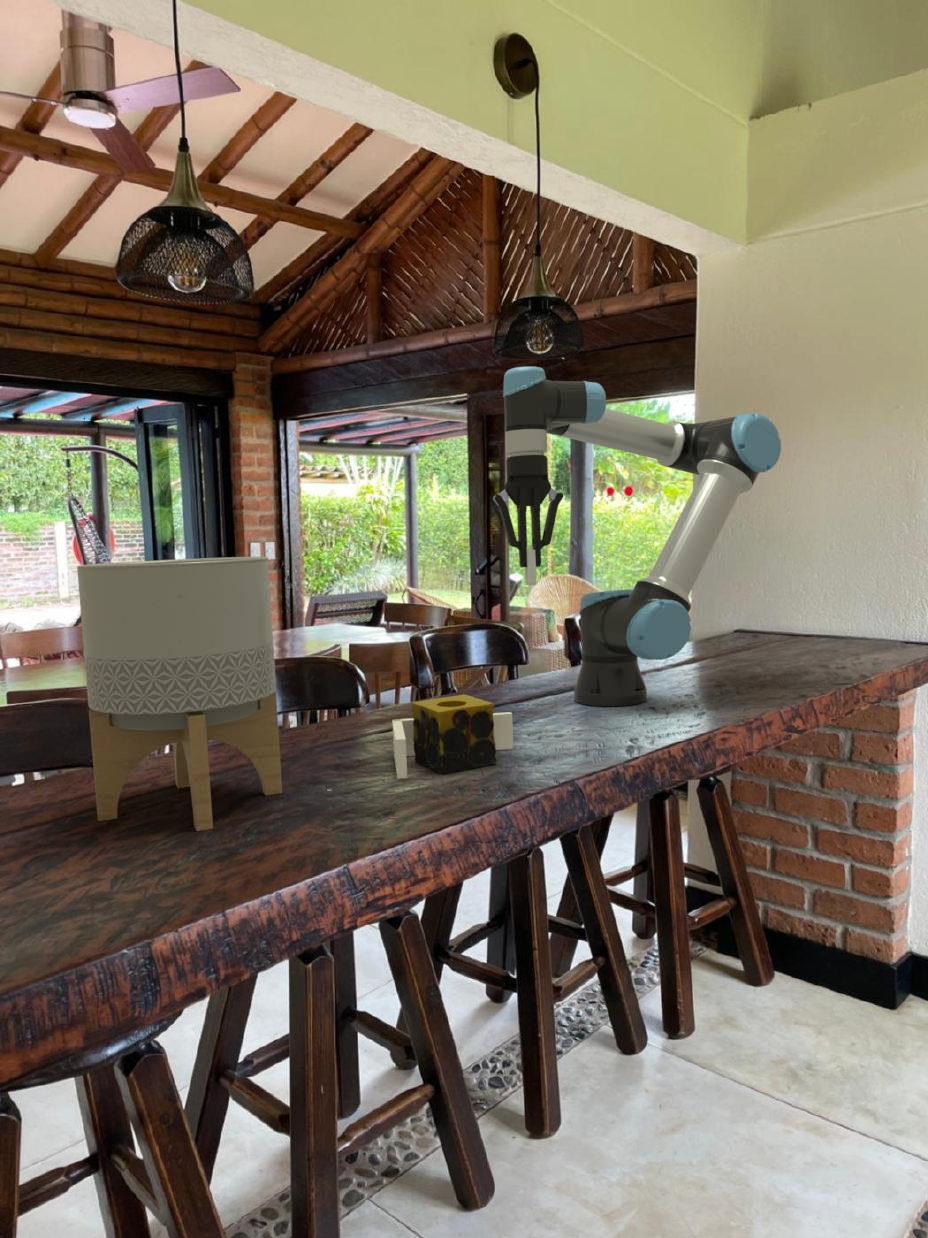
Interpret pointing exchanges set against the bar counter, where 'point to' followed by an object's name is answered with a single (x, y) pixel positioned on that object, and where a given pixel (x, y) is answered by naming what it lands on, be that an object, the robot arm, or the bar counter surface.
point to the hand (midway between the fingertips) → (530, 584)
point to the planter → (179, 670)
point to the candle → (453, 733)
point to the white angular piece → (406, 744)
